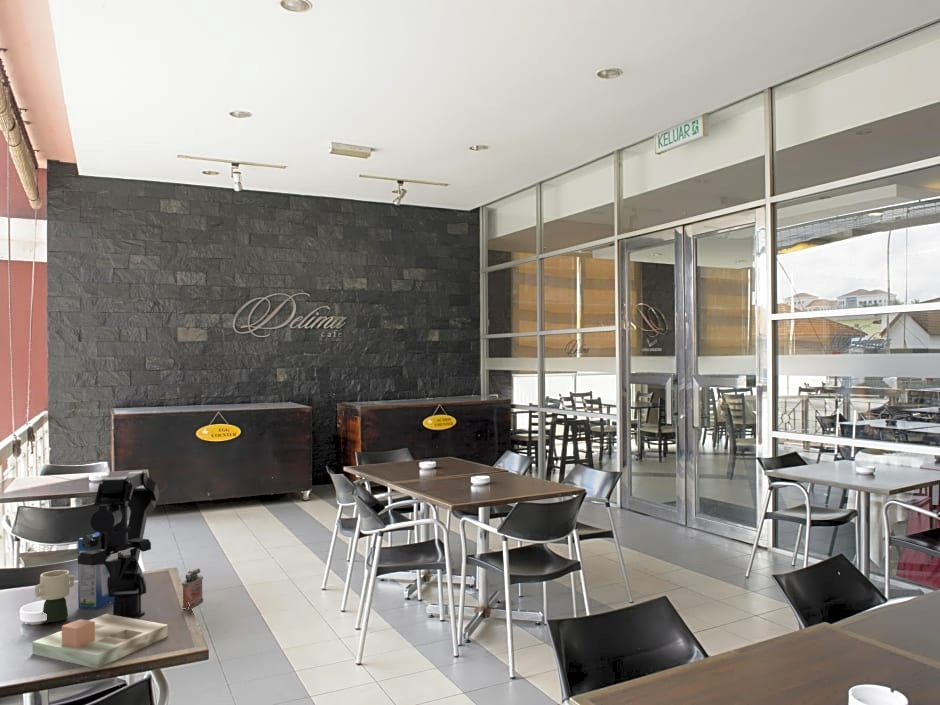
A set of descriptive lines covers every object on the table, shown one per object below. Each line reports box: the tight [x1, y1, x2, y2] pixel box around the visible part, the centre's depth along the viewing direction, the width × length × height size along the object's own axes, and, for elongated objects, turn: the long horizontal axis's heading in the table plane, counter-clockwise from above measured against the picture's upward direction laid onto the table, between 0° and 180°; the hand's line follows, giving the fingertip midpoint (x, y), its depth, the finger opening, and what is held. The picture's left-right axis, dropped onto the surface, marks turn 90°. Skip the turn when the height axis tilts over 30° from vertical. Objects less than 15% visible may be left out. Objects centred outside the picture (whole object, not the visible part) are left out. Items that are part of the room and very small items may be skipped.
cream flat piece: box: [32, 613, 169, 669], centre depth 183 cm, size 21×22×3 cm
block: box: [61, 618, 95, 648], centre depth 177 cm, size 5×5×4 cm
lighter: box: [181, 568, 204, 610], centre depth 212 cm, size 8×3×10 cm, turn 168°
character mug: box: [34, 569, 75, 623], centre depth 200 cm, size 11×7×13 cm, turn 153°
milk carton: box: [77, 531, 114, 611], centre depth 215 cm, size 10×6×20 cm, turn 170°
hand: (115, 583), depth 193 cm, fingers closed
